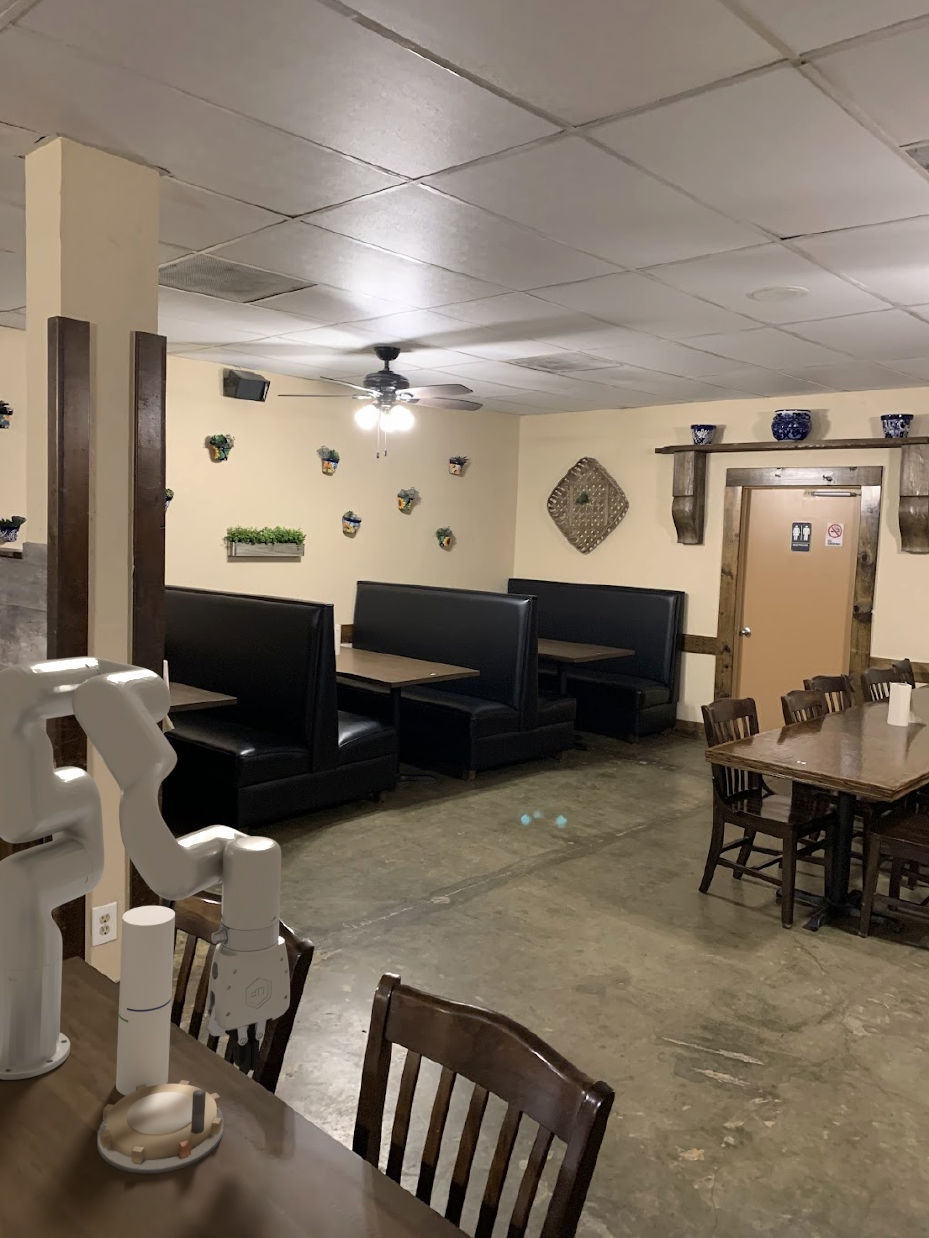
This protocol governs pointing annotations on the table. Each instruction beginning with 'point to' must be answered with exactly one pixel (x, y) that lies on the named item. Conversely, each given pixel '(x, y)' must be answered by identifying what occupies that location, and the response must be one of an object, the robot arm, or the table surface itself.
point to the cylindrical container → (145, 997)
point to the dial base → (158, 1164)
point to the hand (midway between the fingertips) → (245, 1066)
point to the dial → (161, 1121)
